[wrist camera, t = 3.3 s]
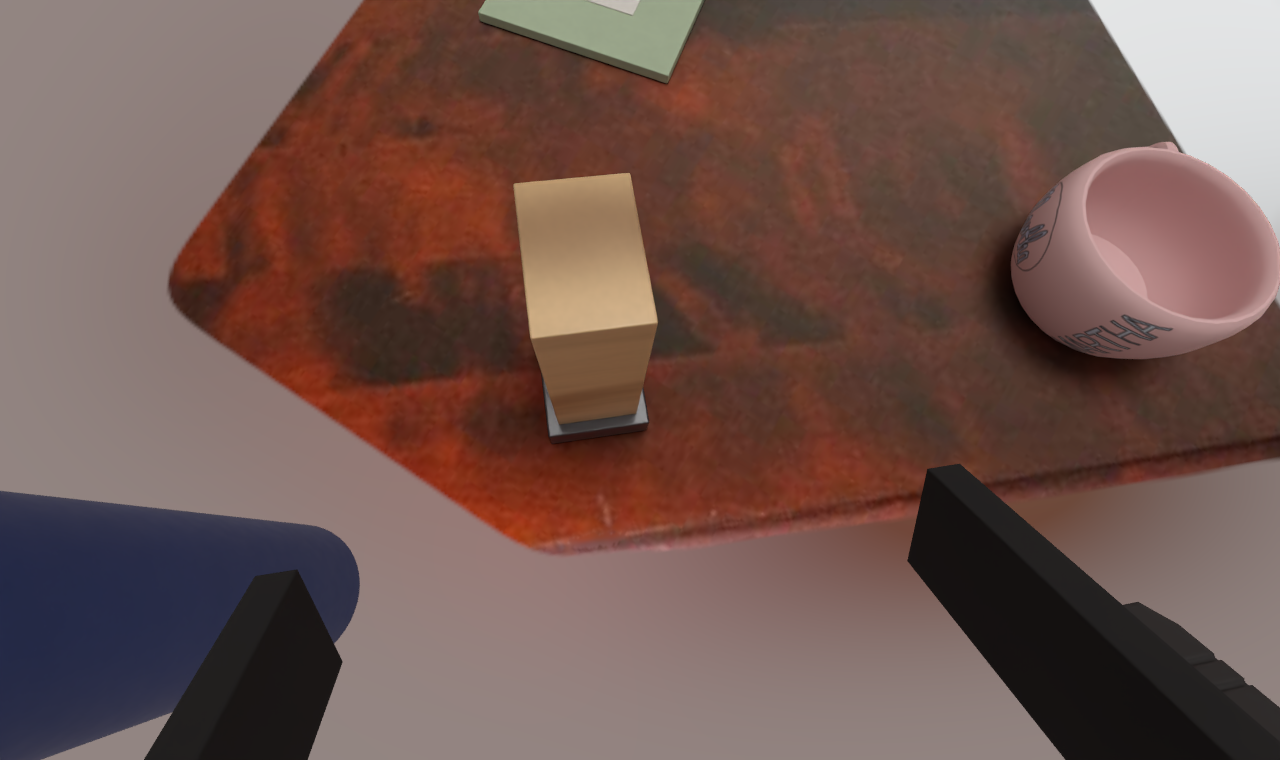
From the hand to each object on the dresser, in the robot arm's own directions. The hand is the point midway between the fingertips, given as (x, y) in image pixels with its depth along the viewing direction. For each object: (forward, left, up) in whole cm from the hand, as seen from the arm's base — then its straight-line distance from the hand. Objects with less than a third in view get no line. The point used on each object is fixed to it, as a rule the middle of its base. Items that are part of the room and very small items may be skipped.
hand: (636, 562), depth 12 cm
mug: (+27, +11, -13) cm, 32 cm away
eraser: (0, +9, -13) cm, 16 cm away
